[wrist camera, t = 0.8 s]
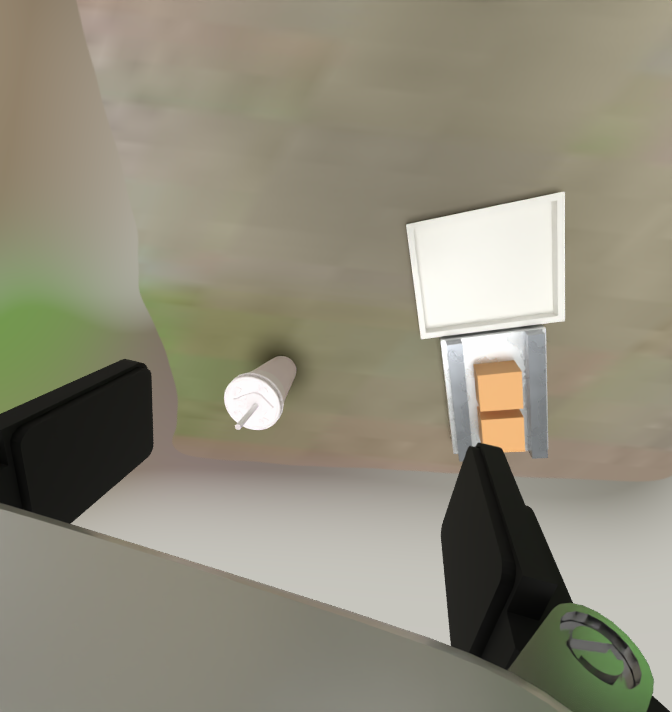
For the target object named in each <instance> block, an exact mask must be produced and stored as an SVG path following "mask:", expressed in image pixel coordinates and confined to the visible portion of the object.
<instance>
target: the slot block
mask: <svg viewBox="0 0 672 712" xmlns="http://www.w3.org/2000/svg"><path fill="white" fill-rule="evenodd" d="M440 344H441V353H442V362H443V370H444V379H445V388H446V396H447V405H448V414H449V423H450V431H451V440H452V446H453V453H454V454H458V456H459V461H463V460H464V457H465V454H466V451H467V449H468V447H469V446H473V447H475V446H476V444H477V443H479V442H480V443H481V441H480V437H479V426H478V414H477V406H478V403H477V399H476V391H475V380H474V368H473V364H482V363H492V362H501V361H511V360H514V361H515V362H516V364H517V365H518V367H519V368H520V369H521V371H522V387H523V409H520V411H521V413H522V415H523V417H524V434H525V450H528V451H529V453H530V455H531V457H532V458H548V451H547V449H548V412H547V359H546V328H545V327H544V326H543V325H541V324H537V325H529V326H521V327H513V328H505V329H497V330H489V331H481V332H474V333H466V334H458V335H450V336H442V337H440Z"/></svg>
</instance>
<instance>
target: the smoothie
mask: <svg viewBox="0 0 672 712" xmlns="http://www.w3.org/2000/svg"><path fill="white" fill-rule="evenodd" d="M295 376H296V366H295V364H294V362H293V361H292V360H291V359H290V358H288V357H286V356H277V357H274V358H273V359H271V360H269V361H268V362H266V363H264V364H263V365H261V366H259V367H258V368H256V369H254V370H253V371H251V372H249V373H245V374H241V375H239V376H237V377H236V378H234V379H233V380H232V382H231V383H230V384H229V385H228V386H227V388H226V391H225V395H224V402H225V406H226V409H227V411H228V413H229V414H230V416H231V417H232V418H233V419H234V420H235V421H236V422H237V424H236V425H235V428H236V429H238V430H239V429H241V427H242V426H243V427H246V428H248V429H252V430H263V429H267V428H269V427H271V426H272V425H273V424H274V423H275V422H276V421H277V420H278V419H279V418H280V416H281V414H282V412H283V406H284V401H285V398H286V396H287V394H288V392H289V389H290V387H291V385H292V382H293V380H294V378H295Z"/></svg>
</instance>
